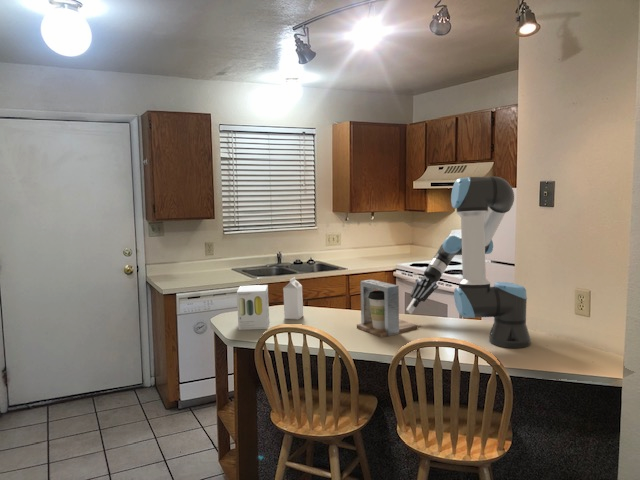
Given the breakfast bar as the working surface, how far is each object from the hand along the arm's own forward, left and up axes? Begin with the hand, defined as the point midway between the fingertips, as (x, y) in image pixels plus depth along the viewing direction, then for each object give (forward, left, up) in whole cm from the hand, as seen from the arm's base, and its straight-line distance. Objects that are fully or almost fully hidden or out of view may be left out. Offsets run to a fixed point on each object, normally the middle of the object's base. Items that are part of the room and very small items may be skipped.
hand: (408, 311), depth 228 cm
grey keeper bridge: (0, +17, -5) cm, 18 cm away
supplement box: (+41, +57, -5) cm, 70 cm away
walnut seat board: (0, +13, -5) cm, 14 cm away
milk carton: (+41, +36, -5) cm, 55 cm away
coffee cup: (-1, +17, -4) cm, 18 cm away
